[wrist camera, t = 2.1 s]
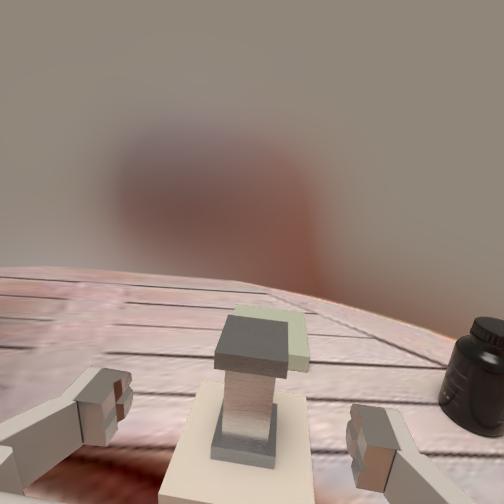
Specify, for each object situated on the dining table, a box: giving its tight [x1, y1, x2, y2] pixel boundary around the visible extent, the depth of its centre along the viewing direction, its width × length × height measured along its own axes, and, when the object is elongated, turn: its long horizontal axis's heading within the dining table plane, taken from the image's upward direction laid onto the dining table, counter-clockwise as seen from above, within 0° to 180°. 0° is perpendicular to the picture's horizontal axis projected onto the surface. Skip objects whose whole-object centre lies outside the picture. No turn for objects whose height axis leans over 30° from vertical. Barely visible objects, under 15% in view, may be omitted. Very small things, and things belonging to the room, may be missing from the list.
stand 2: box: [158, 380, 315, 504], centre depth 28 cm, size 12×12×2 cm
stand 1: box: [233, 304, 310, 372], centre depth 45 cm, size 12×12×2 cm
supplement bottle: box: [439, 317, 504, 436], centre depth 33 cm, size 7×7×12 cm
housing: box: [210, 315, 289, 470], centre depth 25 cm, size 6×6×11 cm
